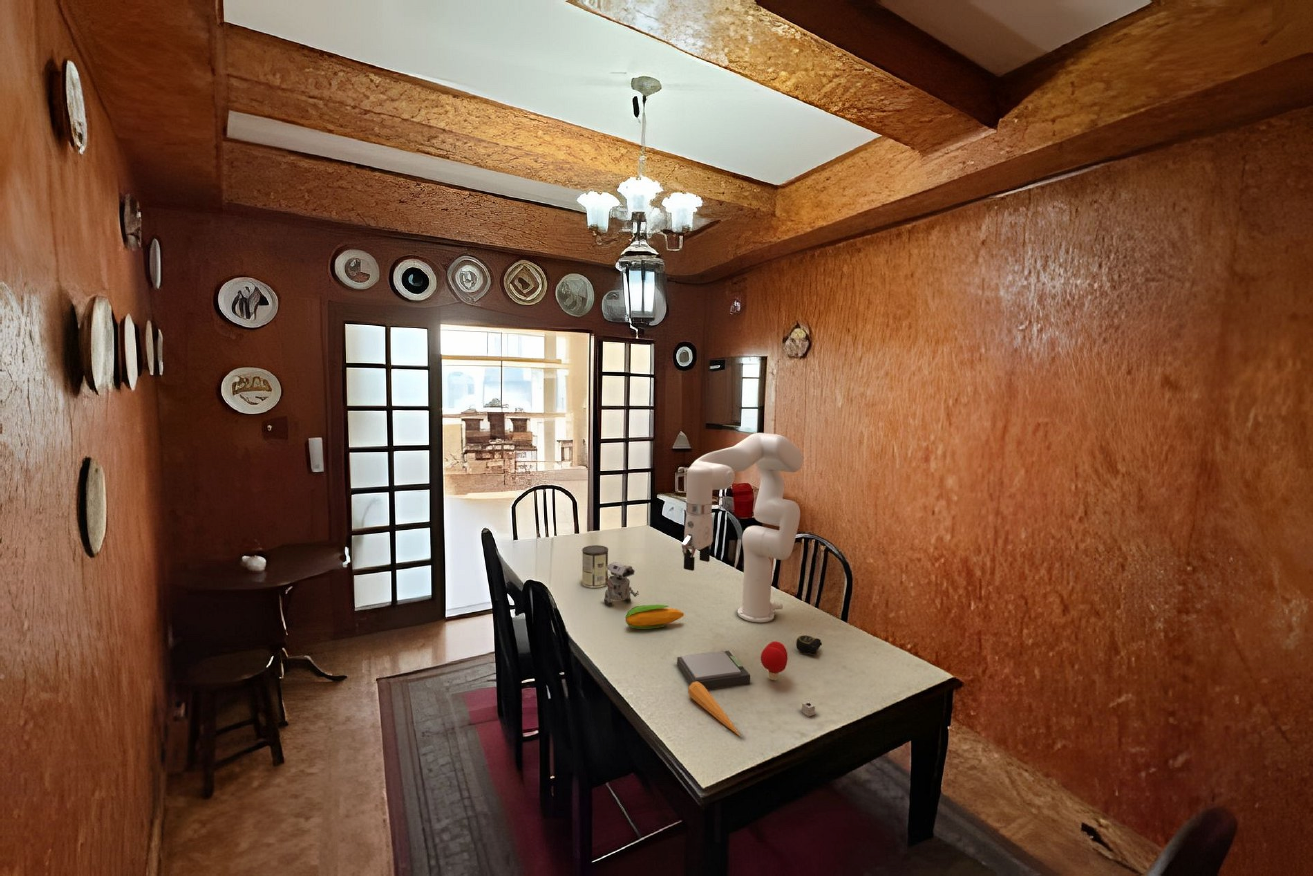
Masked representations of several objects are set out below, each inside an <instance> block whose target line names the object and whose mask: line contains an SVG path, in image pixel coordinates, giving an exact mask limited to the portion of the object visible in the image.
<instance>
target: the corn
mask: <svg viewBox="0 0 1313 876" xmlns="http://www.w3.org/2000/svg"><path fill="white" fill-rule="evenodd" d="M684 615H685V613H684V612H682V611H681V610H680V609H677V608H669V605H666V604H648V605H646V604H645V605H637V606H634V607H632V608H631V609H629V610H628V611H627V612H626V614H625V624H627V625H628V626H629V627H631V628H632V629H635V630H636V629H637V630H650V629H658V628H664V627H667V625H669V624H672V623H674V622H676V621H678V620H680V619H681V618H683V617H684Z"/></svg>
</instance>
